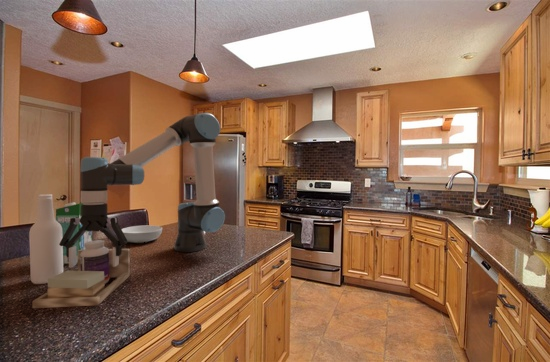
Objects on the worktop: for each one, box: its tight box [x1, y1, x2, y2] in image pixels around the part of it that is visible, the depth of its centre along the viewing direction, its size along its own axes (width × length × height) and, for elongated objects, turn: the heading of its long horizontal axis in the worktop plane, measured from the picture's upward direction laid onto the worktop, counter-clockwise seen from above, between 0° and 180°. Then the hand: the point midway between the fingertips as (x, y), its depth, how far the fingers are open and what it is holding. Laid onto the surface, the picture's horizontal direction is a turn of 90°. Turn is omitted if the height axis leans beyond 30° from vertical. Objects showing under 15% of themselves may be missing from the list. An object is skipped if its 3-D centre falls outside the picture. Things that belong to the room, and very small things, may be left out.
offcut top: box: [47, 269, 104, 289], centre depth 81 cm, size 12×7×2 cm, turn 87°
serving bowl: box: [121, 224, 163, 244], centre depth 148 cm, size 21×21×7 cm
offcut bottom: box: [48, 285, 106, 299], centre depth 82 cm, size 12×7×2 cm, turn 96°
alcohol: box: [28, 193, 64, 285], centre depth 94 cm, size 9×9×30 cm
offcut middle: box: [47, 278, 106, 297], centre depth 82 cm, size 12×7×2 cm, turn 98°
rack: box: [31, 248, 131, 309], centre depth 87 cm, size 17×22×10 cm
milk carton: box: [55, 201, 93, 265], centre depth 115 cm, size 9×9×25 cm
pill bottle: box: [80, 239, 110, 285], centre depth 91 cm, size 8×8×14 cm
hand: (94, 265), depth 91 cm, fingers open, 13 cm apart
